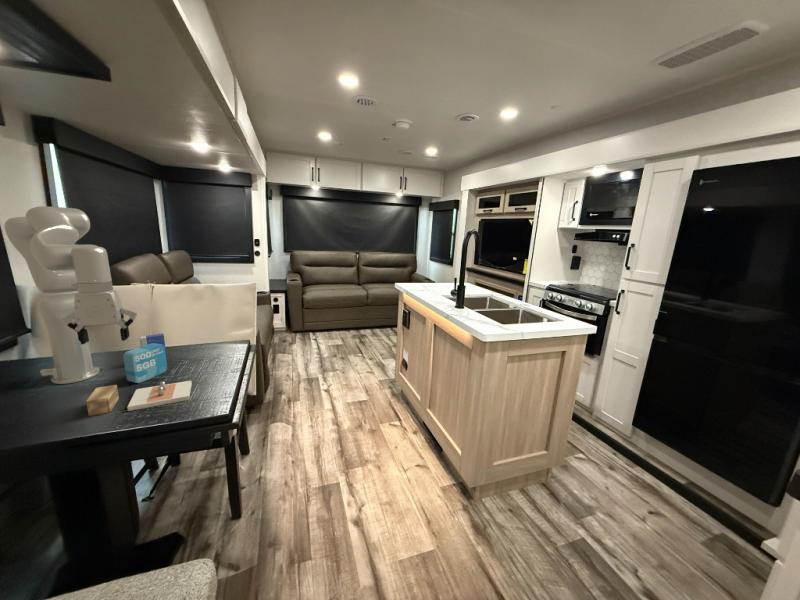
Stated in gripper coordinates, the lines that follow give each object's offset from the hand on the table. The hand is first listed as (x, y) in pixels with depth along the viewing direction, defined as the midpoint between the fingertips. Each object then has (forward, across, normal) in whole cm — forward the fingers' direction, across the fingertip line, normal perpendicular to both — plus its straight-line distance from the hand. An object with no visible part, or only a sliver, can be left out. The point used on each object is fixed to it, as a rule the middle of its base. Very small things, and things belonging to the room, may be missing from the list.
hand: (105, 341), depth 96 cm
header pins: (+20, +12, 0) cm, 24 cm away
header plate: (+22, +12, 0) cm, 25 cm away
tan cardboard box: (+22, -3, -1) cm, 22 cm away
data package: (+22, +3, +19) cm, 29 cm away
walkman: (+21, +2, +34) cm, 40 cm away
